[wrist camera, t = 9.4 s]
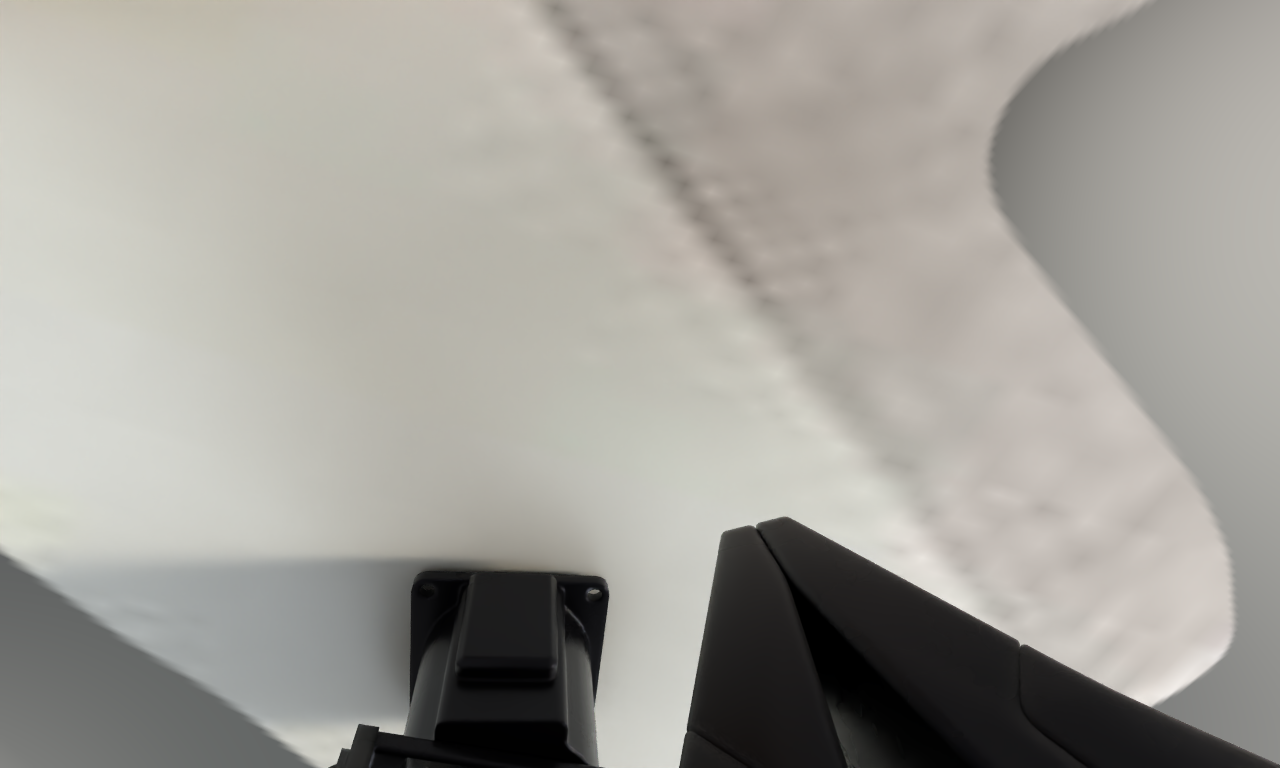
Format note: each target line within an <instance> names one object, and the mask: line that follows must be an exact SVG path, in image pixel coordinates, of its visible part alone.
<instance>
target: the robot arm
mask: <svg viewBox="0 0 1280 768" xmlns="http://www.w3.org/2000/svg"><path fill="white" fill-rule="evenodd" d="M424 585H430V586H432V587H433V588H434V589H433V590H426V589H424V588H423V587H422V586H424ZM594 589H596V590H599V591H600V592H598V593H597V594H590V593H588V592H589V591H591V590H594ZM608 601H609V590H608V584H607V582H606V581H605V580H604V579H603V578H601V577H597V576H576V575H550V574H537V573H503V572H477V573H474V572H440V571H427V572H422V573H420V574H418V575H417V577H416V578H415V580H414V583H413V587H412V590H411V653H410V710H409V715H408V719H407V723H406V728H405V732H404V735H398V734H391V733H385V732H379V731H378V730H379V727H375V726H369V725H363V724H359V725H358V728H357V731H356V734H355V737H354V740H353V744H352V747H351V750H350V749H344V748H342V750H341V753H340V756H339V759H338V762H337V764H335V765H333V766H331V767H329V768H603V767H599V763H598V750H597V738H596V725H595V712H594V707H595V699H596V692H597V684H598V676H599V669H600V661H601V654H602V646H603V639H604V631H605V623H606V616H607V608H608ZM679 768H1280V765H1279V764H1276V763H1274V762H1272V761H1269V760H1267V759H1265V758H1263V757H1260V756H1258V755H1256V754H1254V753H1252V752H1249V751H1247V750H1245V749H1242V748H1240V747H1238V746H1236V745H1233V744H1231V743H1229V742H1227V741H1224V740H1222V739H1220V738H1217V737H1215V736H1213V735H1211V734H1209V733H1206V732H1204V731H1202V730H1199V729H1197V728H1195V727H1192V726H1190V725H1188V724H1186V723H1184V722H1181V721H1179V720H1177V719H1175V718H1173V717H1170V716H1168V715H1166V714H1164V713H1162V712H1160V711H1158V710H1155V709H1153V708H1151V707H1149V706H1147V705H1145V704H1142V703H1140V702H1138V701H1136V700H1134V699H1132V698H1129V697H1127V696H1125V695H1123V694H1121V693H1119V692H1116V691H1114V690H1112V689H1110V688H1108V687H1106V686H1104V685H1103V684H1101V683H1099V682H1097V681H1095V680H1093V679H1091V678H1089V677H1087V676H1085V675H1083V674H1081V673H1079V672H1077V671H1075V670H1073V669H1071V668H1069V667H1067V666H1065V665H1063V664H1061V663H1059V662H1058V661H1056V660H1054V659H1052V658H1050V657H1048V656H1046V655H1044V654H1043V653H1041V652H1039V651H1037V650H1035V649H1033V648H1031V647H1030V646H1028V645H1021V646H1020V644H1019V642H1018V640H1016V639H1014V638H1012V637H1010V636H1009V635H1007V634H1005V633H1003V632H1001V631H999V630H997V629H996V628H994V627H992V626H990V625H988V624H986V623H984V622H983V621H981V620H979V619H977V618H975V617H973V616H971V615H970V614H968V613H966V612H964V611H962V610H960V609H958V608H957V607H955V606H953V605H951V604H949V603H947V602H945V601H944V600H942V599H940V598H938V597H936V596H934V595H932V594H931V593H929V592H927V591H925V590H923V589H921V588H919V587H917V586H916V585H914V584H912V583H910V582H908V581H906V580H904V579H903V578H901V577H899V576H897V575H895V574H893V573H891V572H890V571H888V570H886V569H884V568H882V567H880V566H878V565H877V564H875V563H873V562H871V561H869V560H867V559H865V558H864V557H862V556H860V555H858V554H856V553H854V552H852V551H851V550H849V549H847V548H845V547H843V546H841V545H839V544H838V543H836V542H834V541H832V540H830V539H828V538H826V537H825V536H823V535H821V534H819V533H817V532H815V531H813V530H812V529H810V528H808V527H806V526H804V525H802V524H800V523H799V522H797V521H795V520H793V519H791V518H789V517H780V518H776V519H772V520H768V521H764V522H760V523H758V524H757V525H756V528H755V527H754V526H744V527H740V528H736V529H732V530H728V531H725V532H723V534H722V536H721V540H720V545H719V551H718V556H717V562H716V568H715V573H714V579H713V584H712V590H711V596H710V601H709V607H708V612H707V618H706V623H705V629H704V635H703V640H702V646H701V651H700V657H699V663H698V668H697V674H696V679H695V685H694V690H693V696H692V702H691V707H690V713H689V718H688V724H687V733H686V734H685V738H684V744H683V749H682V755H681V761H680V766H679Z"/></svg>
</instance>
